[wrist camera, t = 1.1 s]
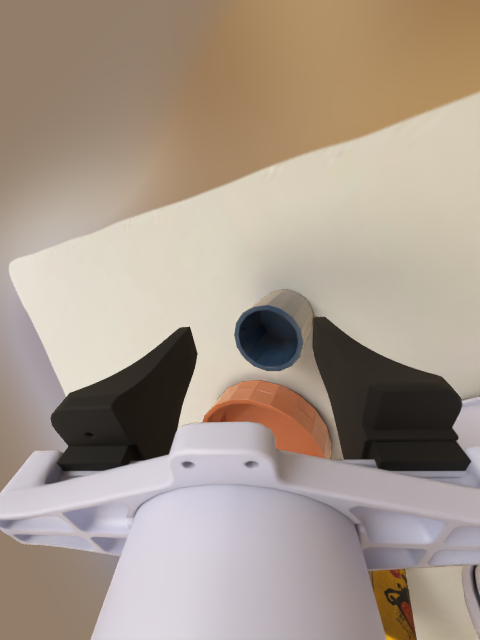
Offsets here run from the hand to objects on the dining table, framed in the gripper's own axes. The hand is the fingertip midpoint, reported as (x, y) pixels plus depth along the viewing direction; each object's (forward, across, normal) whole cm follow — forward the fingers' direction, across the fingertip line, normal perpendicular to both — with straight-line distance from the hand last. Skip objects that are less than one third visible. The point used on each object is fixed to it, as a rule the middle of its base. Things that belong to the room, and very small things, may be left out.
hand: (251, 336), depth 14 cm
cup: (+11, -3, +5) cm, 12 cm away
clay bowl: (+8, 0, +20) cm, 22 cm away
